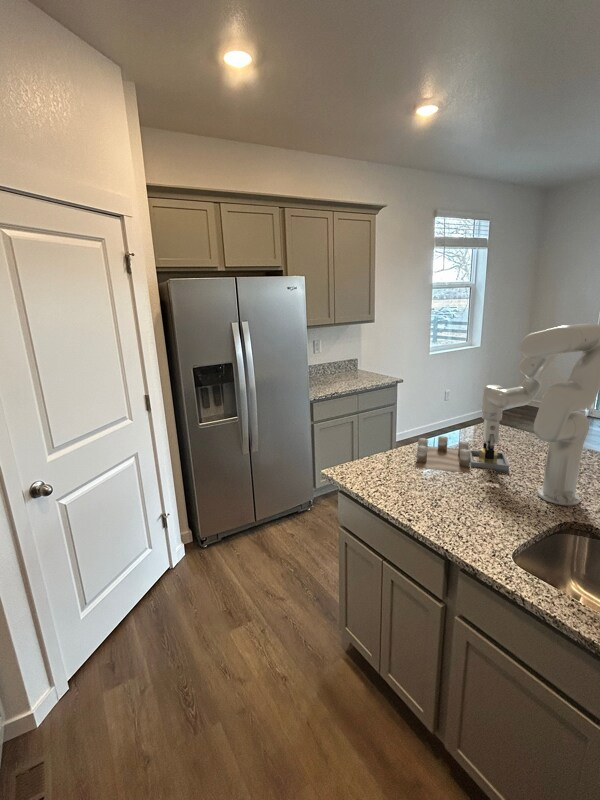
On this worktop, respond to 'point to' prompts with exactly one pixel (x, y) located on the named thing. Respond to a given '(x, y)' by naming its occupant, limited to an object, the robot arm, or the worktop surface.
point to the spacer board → (443, 456)
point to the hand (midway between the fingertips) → (488, 455)
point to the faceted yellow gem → (482, 459)
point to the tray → (499, 466)
